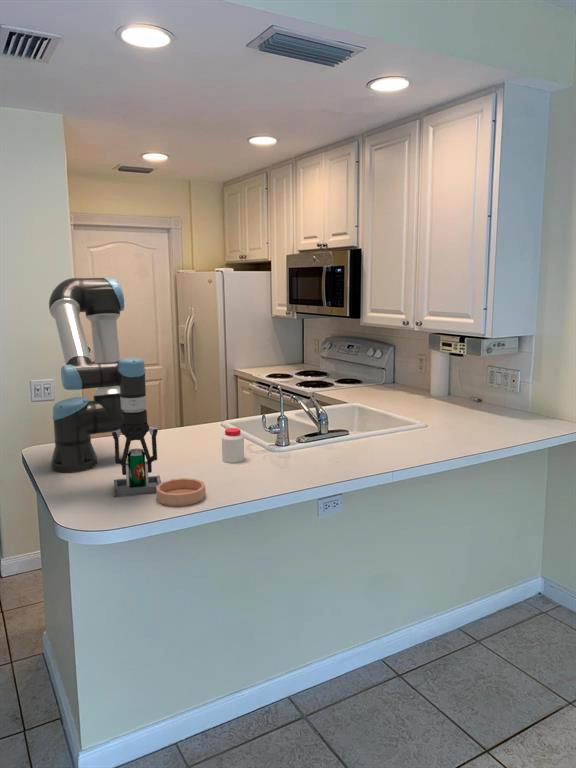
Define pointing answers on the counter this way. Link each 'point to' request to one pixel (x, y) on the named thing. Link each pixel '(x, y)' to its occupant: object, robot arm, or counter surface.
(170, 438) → the counter surface
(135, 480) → the soda can
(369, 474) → the counter surface
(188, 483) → the bowl
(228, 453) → the pill bottle
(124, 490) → the tray
